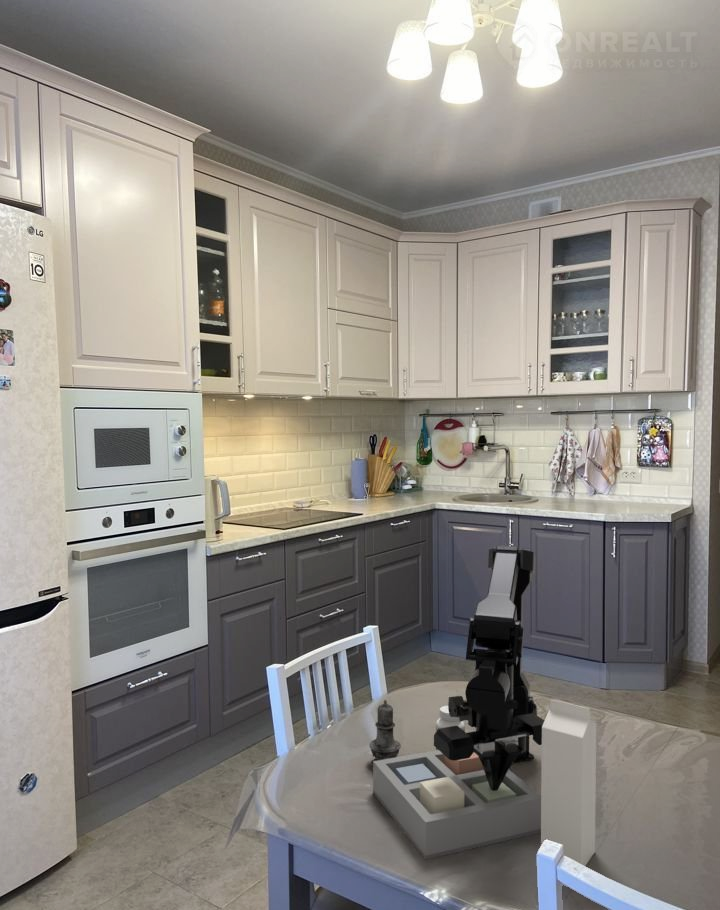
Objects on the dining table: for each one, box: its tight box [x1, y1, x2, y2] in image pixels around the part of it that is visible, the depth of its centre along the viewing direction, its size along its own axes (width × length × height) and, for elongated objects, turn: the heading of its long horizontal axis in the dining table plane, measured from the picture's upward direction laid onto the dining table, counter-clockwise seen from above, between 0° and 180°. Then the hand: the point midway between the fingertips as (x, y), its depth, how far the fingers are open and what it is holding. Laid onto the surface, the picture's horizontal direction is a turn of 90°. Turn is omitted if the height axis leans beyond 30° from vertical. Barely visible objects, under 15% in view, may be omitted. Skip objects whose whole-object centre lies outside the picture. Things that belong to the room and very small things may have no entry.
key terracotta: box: [445, 753, 484, 775], centre depth 117 cm, size 5×5×4 cm
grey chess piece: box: [369, 699, 402, 768], centre depth 127 cm, size 6×6×12 cm
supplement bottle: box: [435, 705, 466, 751], centre depth 128 cm, size 5×5×10 cm
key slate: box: [396, 764, 436, 785], centre depth 113 cm, size 5×5×4 cm
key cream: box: [420, 777, 464, 814], centre depth 105 cm, size 5×5×4 cm
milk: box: [540, 699, 597, 866], centre depth 99 cm, size 6×6×22 cm
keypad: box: [372, 749, 541, 861], centre depth 111 cm, size 20×20×5 cm
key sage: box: [472, 782, 516, 803], centre depth 108 cm, size 5×5×4 cm
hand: (493, 789), depth 108 cm, fingers closed, pressing on key sage
